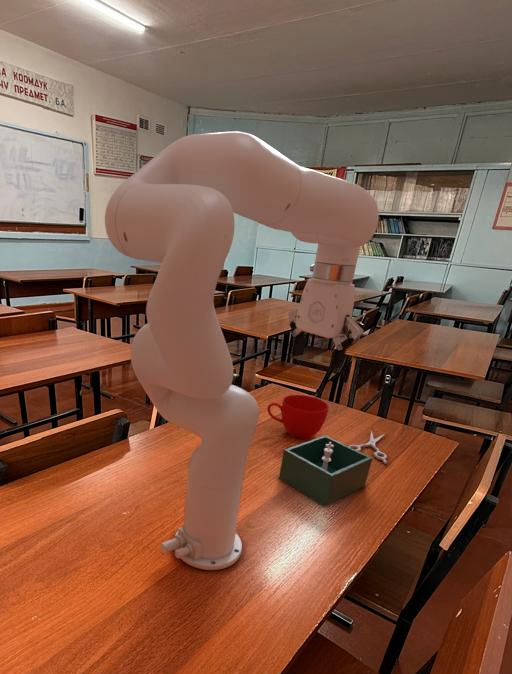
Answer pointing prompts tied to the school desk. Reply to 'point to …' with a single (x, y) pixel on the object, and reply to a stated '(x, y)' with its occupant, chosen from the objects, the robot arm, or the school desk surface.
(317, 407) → the ceramic cup
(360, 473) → the bin
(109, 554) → the school desk surface
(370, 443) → the scissors
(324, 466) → the chess piece
